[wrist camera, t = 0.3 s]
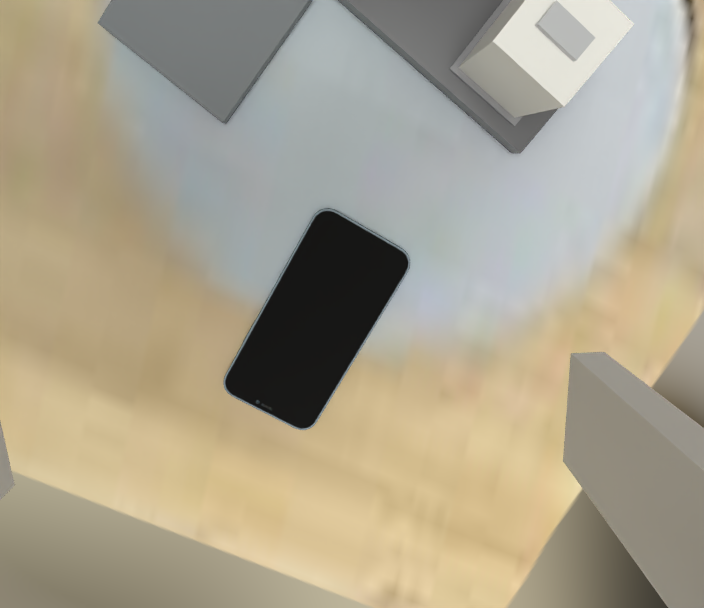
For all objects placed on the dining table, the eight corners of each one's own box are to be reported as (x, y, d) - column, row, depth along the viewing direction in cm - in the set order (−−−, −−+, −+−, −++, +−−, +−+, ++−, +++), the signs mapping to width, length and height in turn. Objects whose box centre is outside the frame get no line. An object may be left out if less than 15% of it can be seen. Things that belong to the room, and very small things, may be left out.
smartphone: (417, 257, 38) (309, 435, 41) (415, 255, 38) (310, 429, 42) (320, 202, 37) (217, 388, 40) (321, 201, 37) (220, 383, 41)
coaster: (104, 26, 34) (97, 23, 33) (188, -107, 32) (183, -115, 31) (226, 123, 36) (222, 122, 35) (312, 1, 34) (311, -4, 33)
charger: (458, 67, 33) (495, 39, 25) (510, 1, 32) (565, -50, 24) (514, 117, 34) (567, 106, 26) (566, 54, 33) (638, 22, 25)
